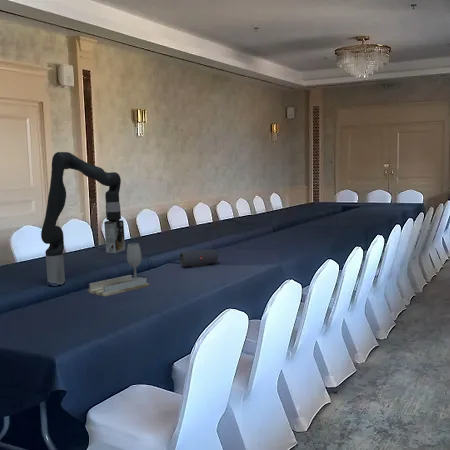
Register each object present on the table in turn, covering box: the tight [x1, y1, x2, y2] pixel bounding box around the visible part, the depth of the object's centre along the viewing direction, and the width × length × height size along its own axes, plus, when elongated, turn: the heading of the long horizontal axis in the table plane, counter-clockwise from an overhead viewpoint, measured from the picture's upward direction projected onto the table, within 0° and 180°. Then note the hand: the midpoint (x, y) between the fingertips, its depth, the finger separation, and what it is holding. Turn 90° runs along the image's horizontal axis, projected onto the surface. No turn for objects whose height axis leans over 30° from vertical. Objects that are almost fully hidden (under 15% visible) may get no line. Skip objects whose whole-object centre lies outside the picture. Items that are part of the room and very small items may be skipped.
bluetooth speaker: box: [179, 248, 219, 268], centre depth 349 cm, size 23×9×10 cm, turn 114°
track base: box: [87, 274, 150, 298], centre depth 296 cm, size 16×28×4 cm, turn 134°
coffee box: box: [103, 219, 126, 254], centre depth 293 cm, size 9×6×16 cm
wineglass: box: [126, 242, 143, 280], centre depth 314 cm, size 9×9×21 cm
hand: (115, 241), depth 293 cm, fingers closed on coffee box, 8 cm apart
